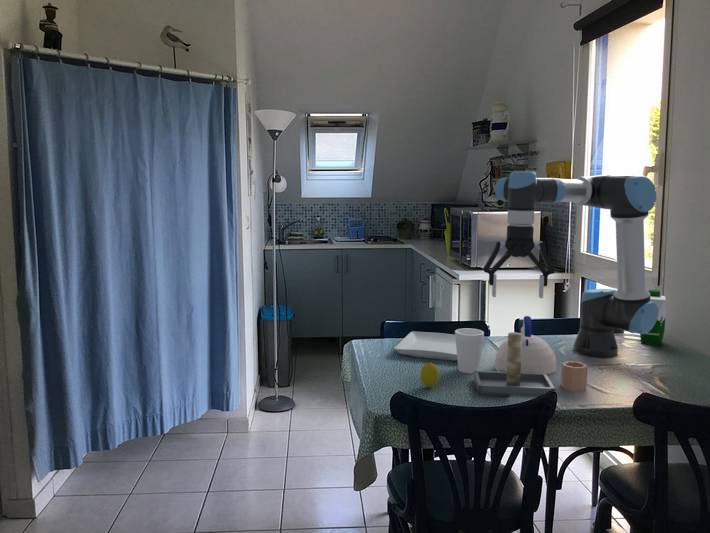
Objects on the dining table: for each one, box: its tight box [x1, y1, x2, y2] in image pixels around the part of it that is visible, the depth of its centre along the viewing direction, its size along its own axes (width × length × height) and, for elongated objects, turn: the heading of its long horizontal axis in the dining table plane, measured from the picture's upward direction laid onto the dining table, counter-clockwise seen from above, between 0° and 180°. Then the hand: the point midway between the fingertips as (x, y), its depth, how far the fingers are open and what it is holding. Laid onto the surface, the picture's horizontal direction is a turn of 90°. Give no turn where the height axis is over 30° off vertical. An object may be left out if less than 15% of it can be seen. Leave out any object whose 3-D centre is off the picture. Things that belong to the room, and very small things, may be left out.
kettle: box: [493, 315, 557, 375], centre depth 212 cm, size 20×21×18 cm
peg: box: [506, 331, 522, 386], centre depth 192 cm, size 4×4×16 cm
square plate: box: [393, 331, 458, 362], centre depth 233 cm, size 27×27×4 cm
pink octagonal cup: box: [560, 360, 589, 392], centre depth 192 cm, size 7×7×8 cm
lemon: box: [420, 361, 440, 389], centre depth 193 cm, size 6×6×8 cm
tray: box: [473, 370, 556, 398], centre depth 193 cm, size 22×14×3 cm, turn 84°
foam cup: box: [454, 327, 485, 374], centre depth 210 cm, size 10×9×13 cm
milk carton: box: [639, 289, 667, 346], centre depth 246 cm, size 9×9×20 cm
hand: (517, 296), depth 189 cm, fingers open, 13 cm apart
